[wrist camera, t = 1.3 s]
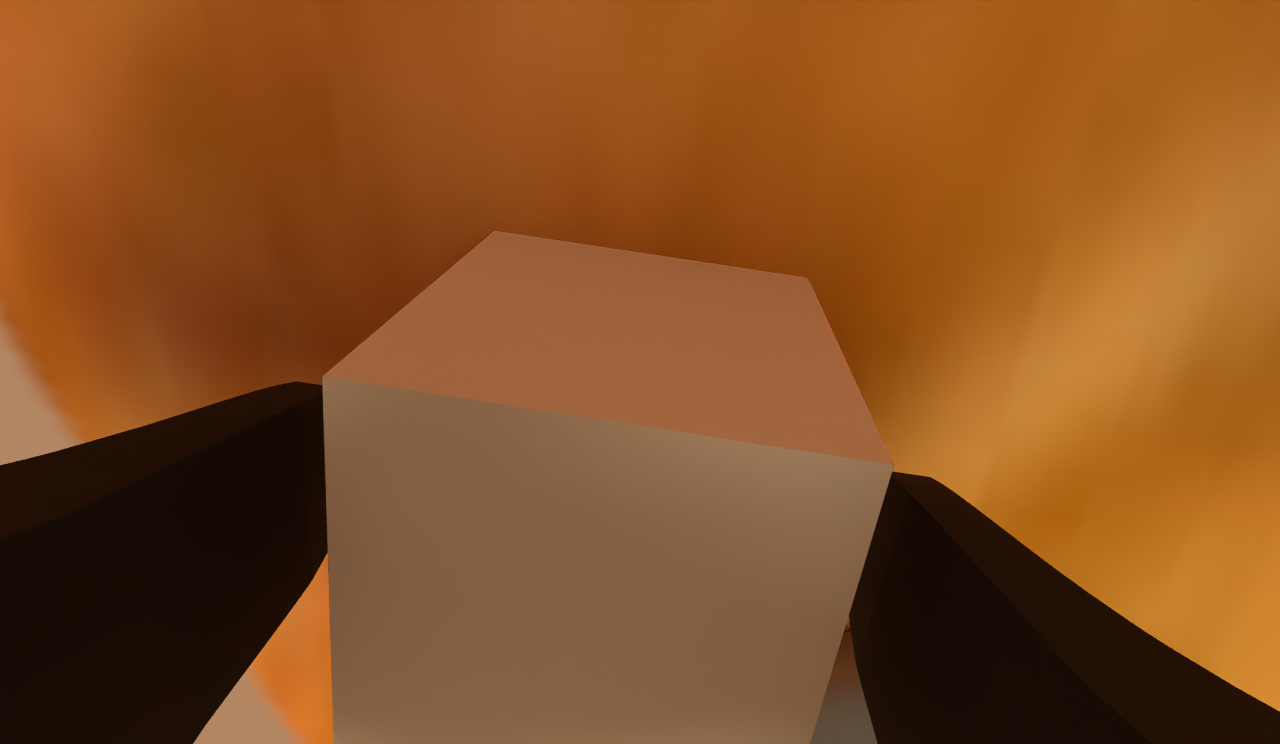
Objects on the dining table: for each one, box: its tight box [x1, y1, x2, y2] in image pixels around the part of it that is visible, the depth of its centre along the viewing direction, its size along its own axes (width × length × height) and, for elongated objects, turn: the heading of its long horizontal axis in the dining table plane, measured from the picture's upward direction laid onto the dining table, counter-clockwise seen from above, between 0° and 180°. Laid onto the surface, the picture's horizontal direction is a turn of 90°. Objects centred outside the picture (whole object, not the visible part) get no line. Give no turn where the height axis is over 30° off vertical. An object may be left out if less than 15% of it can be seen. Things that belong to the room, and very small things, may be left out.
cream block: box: [322, 231, 894, 744], centre depth 10 cm, size 5×5×6 cm
